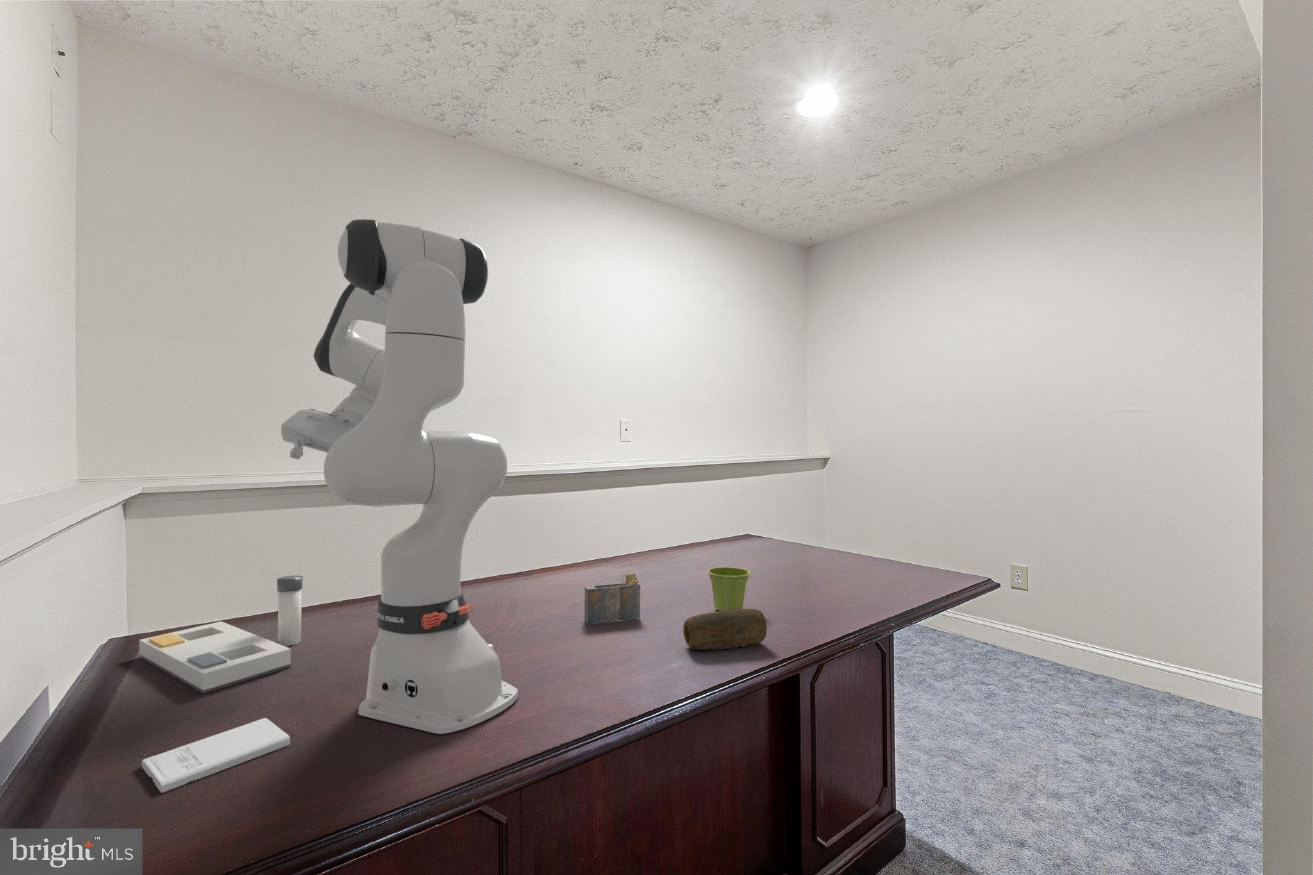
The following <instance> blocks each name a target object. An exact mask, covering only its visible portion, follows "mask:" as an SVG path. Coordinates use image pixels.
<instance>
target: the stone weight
mask: <svg viewBox="0 0 1313 875" xmlns="http://www.w3.org/2000/svg"><path fill="white" fill-rule="evenodd" d="M767 629H768V628H767V621H766V617H765V615H764V613H763V612H762V611H761V610H759V609H755V608H743V609H737V610H728V611H714V612H708V613H701V614H697V615H693V616H690V617H689V618H687V619H685V620H684V623H683V627H682V630H683V632H682V633H683V638H684V641H685V643H686V645H687V646H688V648H690V649H696V650H700V651H701V650H702V651H705V650H706V651H707V650H708V649H711V650H722V649H721V648H724V649H728V648H727V647H733V648H737V647H736V646H742V647H744V646H743V645H747V646H750V645H751V644H752V645H755V644H759V643H762V642H763V641H764V640H765V639H766V637H767Z"/></svg>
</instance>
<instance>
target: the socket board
mask: <svg viewBox="0 0 1313 875" xmlns="http://www.w3.org/2000/svg"><path fill="white" fill-rule="evenodd" d="M138 644H139V647H138V648H139V649H138V651H139V653H138V654H139V656H138V657H139V658H140V659H141V660H144V661H145V662H147V663H149V664H150V665H152V666H154V667H156V668H158V669H159V670H161V671H163V672H164V673H166V674H168V675H169V676H171V677H173V678H175V679H176V680H179V681H180V682H182V683H184V684H186V685H187V686H189V687H191V688H193V689H194V690H196V691H199V692H200V693H201V694H208V693H210V692H213V691H217V690H221V689H224V688H226V687H227V688H228V687H230V686H234V685H237V684H241V683H243V682H246V681H250V680H253V679H256V678H259V677H260V678H261V677H263V676H266V675H269V674H272V673H275V672H279V671H282V670H285V669H289V668H291V664H292V662H291V660H292V658H291V657H292V655H291V654H292V652H291V651H292V649H291V648H289V646H286V647H285V646H282V645H280V644H278V642H275V641H272V640H269V639H267V638H264V637H263V636H259V635H257V634H254V633H252V632H249V631H246V630H244V629H242V628H239V627H237V626H234V625H232V624H229V623H227V622H224V621H216V622H213V623H209V624H204V625H198V626H195V627H190V628H186V629H182V630H177V631H172V632H169V633H163V634H161V635H156V636H150V637H146V638H141V639H139V643H138Z"/></svg>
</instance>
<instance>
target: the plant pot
mask: <svg viewBox="0 0 1313 875" xmlns="http://www.w3.org/2000/svg"><path fill="white" fill-rule="evenodd" d="M707 573H708V574H709V580H710V581H711V582H710V583H711V588H712V589H711V590H712V596H713V603H714V609H715V608H716V610H719V611H728V610H737V609H744V600H745V593H746V588H747V582H748V580H749V576H750V575H751V571H750V570H748V569H746V568H742V567H741V568H740V567H733V566H720V567H719V566H718V567H713V568H709V569H707ZM716 610H715V611H716ZM719 611H718V612H719Z"/></svg>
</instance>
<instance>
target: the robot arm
mask: <svg viewBox="0 0 1313 875" xmlns="http://www.w3.org/2000/svg"><path fill="white" fill-rule="evenodd" d="M337 245H338V246H337V258H338V262H339V265H340V269H341V270H342V273H343V277H344V278H345V279H346V280H347V281H348V282H349V284H348V285H347V287H346V288H345V289H344V290H343V291H342V293H341V295H340V297H339V298H338V300H337V303H336V305H335V306H334V309H333V311H332V314H331V316H330V318H329V321H328V322H327V325H326V328H325V330H324V332H323V334H322V336H321V338H320V339H319V340H318V341H317V343H316V346H315V348H314V352H313V359H314V361H315V363H316V365H317V367H318V369H319V370H320V372H322V373H325V374H327V375H330V376H332V377H336V378H338V379H341V380H344V381H346V382H349V383H351V384H353V385H355V387H354V388H353V389H352V390H351V391H350V393H349V395H348V396H347V397H345V398H344V399H342V401H341V402H340V403H339V404H338V405H337V406H336V407H335V408H334V409H333V411H332V412H331V413H328V412H325V411H321V410H317V409H314V408H309V409H299V410H297V412H296V413H295V414H293V415H291V416H289V418H287V419H286V420H285V421H284V422H283V423H282V424H281V425H280V426H281V428H280V433H281V438H282V439H283V441H284V442H287V443H291V444H294V447H293V448H292V449H291V450H290V451H289V457H290V458H292V459H294V460H300V459H301V458H302V457H303V456H304V452H303V451H304V447H306V448H308V449H313V450H316V451H320V452H323V453H327V454H326V456H325V458H324V462H323V476H324V481H325V483H326V486H327V488H328V490H329V492H330V493H331V494H332V495H333V497H335V499H337V501H339V502H341V503H342V504H349V505H354V506H355V505H357V506H363V507H373V508H374V507H375V508H381V507H397V506H410V505H423V506H422V512H421V513H420V515H419V517H418V519H417V520H416V521H415V522H414V523H413V524H412V525H410V526H409V527H407V528H405V529H403V530H401V531H399V532H397V533H396V534H395V535H394V536H392V537H391V538H390V539H389V540H388V541H387V542H386V544H385V546H384V547H383V549H382V552H381V556H380V557H381V558H380V559H381V561H380V562H381V564H380V565H381V566H380V567H381V568H380V570H381V571H380V575H381V576H380V578H381V579H380V581H381V582H380V584H381V585H380V598H379V599H378V601H377V608H376V616H377V618H376V620H377V623H376V624H377V626H378V628H379V631H378V632H379V633H378V634H377V637H376V640H375V642H374V644H373V646H372V649H371V651H370V655H369V665H368V666H369V667H368V675H367V686H366V697H365V699H364V700H363V701H362V702H360V704H359V706H358V715H359V716H361V717H366V718H370V719H374V720H378V721H382V722H387V723H390V724H391V723H392V724H395V725H399V726H403V727H406V728H407V727H408V728H413V729H416V730H420V731H424V732H428V733H432V734H437V735H444V734H449V733H454V732H457V731H461V730H464V729H468V728H470V727H472V726H475V725H477V724H480V723H482V722H484V721H486V720H488V719H491V718H493V717H495V716H496V715H498V714H500V713H501V712H504V710H507V709H508V708H510V707H511V705H513V704H514V703H515V702H516V701H517V699H518V698H519V690H518V688H517V687H515V686H513V685H512V684H510V683H508V682H506V681H504V680H503V679H502V669H501V662H500V658H499V656H498V654H497V653H496V652H495V651H496V650H495V647H494V645H493V644H491V643H487V642H486V641H485V639H484V638H483V637H482V635H481V634H480V633H479V631H477V630H476V628H475V627H474V626H473V625H472V624H471V622H470V621H469V617H470V616H469V613H470V612H473V609H469V608H471V607H472V606H473V605H474V604H473V603H469V604H466V600H465V596H464V593H463V591H461V576H462V575H461V572H462V560H463V559H462V558H463V551H464V550H463V548H464V543H465V538H466V535H467V532H468V529H469V527H470V526H471V523H472V521H473V520H474V517H475V516H476V514H477V513H478V512H479V510H480V509H481V508H482V506H483V505H484V504H485V503H486V502H487V501H488V500H490V498H492V497H493V496H494V495H495V494H496V493H497V492H498V491H499V490H500V489H501V487H502V486H503V484H504V482H505V481H506V476H507V474H508V473H507V472H508V459H507V456H506V453H505V450H504V449H503V446H502V445H501V443H500V442H499V441H498V440H497V439H496V438H494V437H491V436H488V435H483V434H479V433H474V432H469V431H443V430H441V431H440V430H439V431H431V430H428V431H427V430H423V427H424V423H425V420H426V418H427V416H428V415H429V414H430V413H431V412H432V411H434V410H437V409H438V408H439V409H440V408H442V407H443V406H447V405H448V404H450V403H451V402H453V401H454V400H455V399H456V398H458V397H459V395H460V394H461V392H462V390H463V388H464V385H465V383H464V382H465V358H466V356H465V353H466V352H465V351H466V318H465V306H464V305H467V304H468V305H469V304H475V303H476V302H477V301H479V300H480V298H482V296H483V295H484V293H485V290H486V287H487V285H488V279H489V268H488V258H487V256H486V253H485V252H484V250H483V249H482V248H481V246H479V245H478V244H477V243H474V242H473V241H470V240H467V239H466V238H465V239H464V238H459V239H457V238H455V237H452V236H449V235H445V234H442V233H439V232H435V231H432V230H427V229H422V228H421V227H420V226H418V227H417V226H412V225H408V224H406V225H405V224H399V223H391V222H376V220H375V219H365V218H364V219H363V218H361V219H352V220H351V221H350V222H349V223H347V224H346V225H345V228H344V231H343V232H342V234H341V236H340V238H339V241H338V244H337ZM358 321H365V322H371V323H375V324H377V325H382V326H385V327H384V328H385V331H384V334H385V335H384V347H382V346H380V345H379V344H376V343H375V342H372V341H370V340H368V339H366V338H364V337H362V336H361V335H359V334H358V333H356V332H355V331H354V328H355V326H356V323H357V322H358Z"/></svg>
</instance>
